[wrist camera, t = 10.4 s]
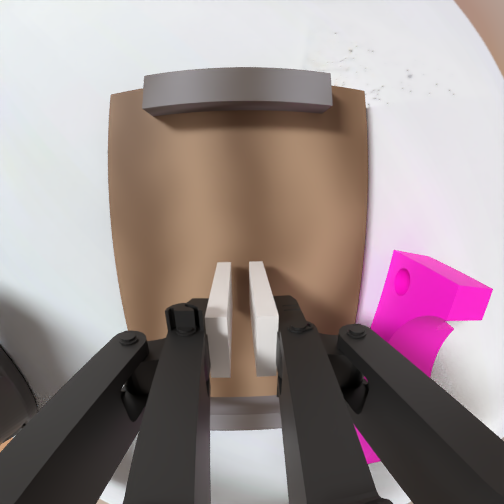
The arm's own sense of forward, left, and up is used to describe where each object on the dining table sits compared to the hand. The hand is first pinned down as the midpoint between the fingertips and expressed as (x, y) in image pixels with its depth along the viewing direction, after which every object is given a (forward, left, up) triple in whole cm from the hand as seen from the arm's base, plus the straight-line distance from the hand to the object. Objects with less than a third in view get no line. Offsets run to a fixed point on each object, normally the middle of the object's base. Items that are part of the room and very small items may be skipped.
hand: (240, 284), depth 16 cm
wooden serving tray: (0, 0, -2) cm, 2 cm away
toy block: (+13, -7, -3) cm, 15 cm away
